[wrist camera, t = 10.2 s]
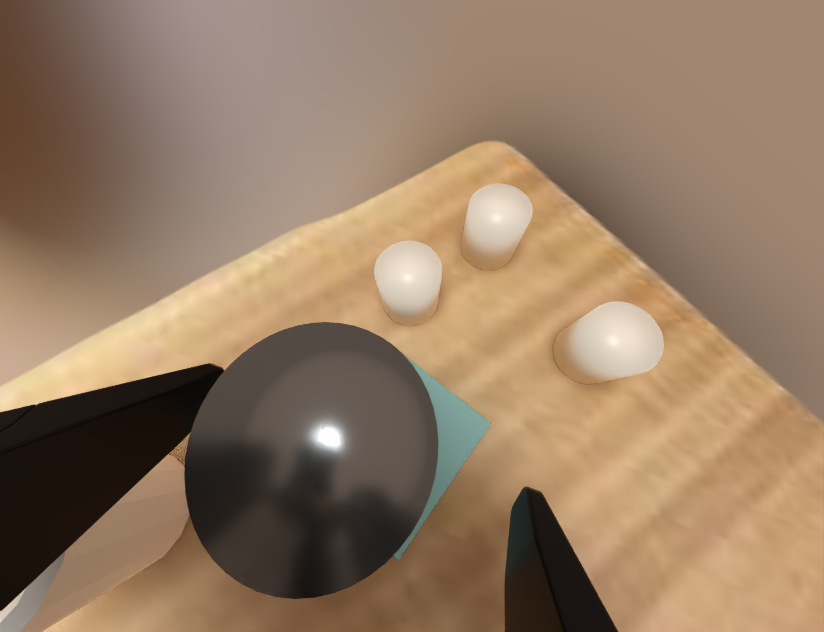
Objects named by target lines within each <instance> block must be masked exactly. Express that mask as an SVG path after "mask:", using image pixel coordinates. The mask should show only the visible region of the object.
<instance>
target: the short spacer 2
mask: <svg viewBox="0 0 824 632" xmlns="http://www.w3.org/2000/svg"><path fill="white" fill-rule="evenodd" d="M663 349H664V341H663V336H662V333H661V330H660V328H659V326H658V325H657V323H656V322H655V320H654V319H653V318H652V317H651V316H650V315H649V314H648V313H647V312H646V311H644V310H643V309H641V308H639V307H638V306H635V305H633V304H630V303H626V302H619V301H615V302H608V303H604V304H602V305H600V306H598V307H597V308H595V309H594V310H592V311H591V312H589V313H588V314H586V315H585V316H583V317H582V318H580V319H579V320H577V321H576V322H574V323H573V324H571V325H569V326H568V327H566V328H565V329H563V330H562V331H561V332H560V333H559V334H558V335H557V337H556V339H555V341H554V345H553V355H554V359H555V362H556V364H557V366H558V367H559V369H560V370H561V371H562V372H563V373H564V374H565V375H566V376H567V377H569V378H570V379H572V380H574V381H576V382H579V383H583V384H596V383H600V382H605V381H609V380H614V379H618V378H623V377H627V376H632V375H636V374H641V373H644V372H647V371H649V370H651V369H652V368H653V367H654V366H655V365H656V364H657V363H658V362H659V360H660V359H661V357H662V354H663Z"/></svg>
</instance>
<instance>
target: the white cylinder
mask: <svg viewBox="0 0 824 632" xmlns="http://www.w3.org/2000/svg"><path fill="white" fill-rule="evenodd" d="M184 471H185V467H184V466H183V465H182V464H181V463H180V462H179V461H178V460H177V459H176V458H175V457H174V456H171V455H167V456H166V457H165V458H164V459H163V460H161V461H160V462H159V463H158V464H157V465H156V466H155V467H154V468H153V469H152V470H151V471H150V472H149V473H148V474H147V475H146V476H145V477H143V478H142V479H141V480H140V481H139V482H138V483H137V484H136V485H135V486H134V487H133V488H132V489H131V490H130V491H129V492H128V493H126V494H125V495H124V496H123V497H122V498H121V499H120V500H119V501H118V502H117V503H116V504H115V505H114V506H113V507H112V508H111V509H110V510H108V511H107V512H106V513H105V514H104V515H103V516H102V517H101V518H100V519H99V520H98V521H97V522H96V523H95V524H94V525H93V526H91V527H90V528H89V529H88V530H87V531H86V532H85V533H84V534H83V535H82V536H81V537H80V538H79V539H78V540H77V541H76V542H74V543H73V544H72V545H71V546H70V547H69V548H68V549H67V550H66V551H65V552H64V553H63V554H62V555H61V556H60V557H59V558H58V559H56V560H55V561H54V562H53V563H52V564H51V565H50V566H49V567H48V568H47V569H46V570H45V571H44V572H43V573H42V574H41V575H39V576H38V577H37V578H36V579H35V580H34V581H33V582H32V583H31V584H30V585H29V586H28V587H27V588H26V589H25V590H24V591H22V592H21V593H20V594H19V595H18V596H17V597H16V598H15V599H14V600H13V601H12V602H11V603H10V604H9V605H8V606H7V607H6V608H4V609H3V610H2V611H0V632H42V631H44V630H46V629H47V628H49V627H50V626H52V625H54V624H55V623H57V622H59V621H60V620H62V619H64V618H65V617H67V616H68V615H70V614H72V613H73V612H75V611H77V610H78V609H80V608H82V607H83V606H85V605H86V604H88V603H90V602H91V601H93V600H95V599H96V598H98V597H100V596H101V595H103V594H104V593H106V592H108V591H109V590H111V589H113V588H114V587H116V586H118V585H119V584H121V583H122V582H124V581H126V580H127V579H129V578H131V577H132V576H134V575H136V574H137V573H139V572H140V571H142V570H144V569H145V568H147V567H148V566H150V565H152V564H153V563H155V562H156V561H158V560H159V559H161V558H163V557H164V556H165V555H166V553H167V552H168V551H169V550H170V549H171V547H172V546H173V545H174V544H175V542H176V541H177V540H178V539H179V538H180V536H181V534H182V532H183V530H184V527H185V525H186V522H187V520H188V518H189V515H190V514H189V510H188V505H187V500H186V495H185V480H184Z"/></svg>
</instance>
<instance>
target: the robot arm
mask: <svg viewBox="0 0 824 632" xmlns="http://www.w3.org/2000/svg"><path fill="white" fill-rule="evenodd" d="M223 372H224V369H223V368H222V367H220V366H217V365H214V364H211V363H208V364H204V365H199V366H195V367H191V368H187V369H183V370H178V371H174V372H170V373H166V374H161V375H157V376H153V377H149V378H144V379H140V380H136V381H132V382H127V383H123V384H119V385H115V386H111V387H106V388H102V389H98V390H94V391H89V392H85V393H81V394H77V395H72V396H68V397H64V398H60V399H55V400H51V401H47V402H43V403H39V404H37V405H30V406H26V407H21V408H17V409H13V410H9V411H4V412H0V611H2V610H3V609H4V608H6V607H7V606H8V605H9V604H10V603H11V602H12V601H13V600H14V599H15V598H16V597H17V596H18V595H19V594H20V593H21V592H22V591H24V590H25V589H26V588H27V587H28V586H29V585H30V584H31V583H32V582H33V581H34V580H35V579H36V578H37V577H38V576H39V575H41V574H42V573H43V572H44V571H45V570H46V569H47V568H48V567H49V566H50V565H51V564H52V563H53V562H54V561H55V560H56V559H58V558H59V557H60V556H61V555H62V554H63V553H64V552H65V551H66V550H67V549H68V548H69V547H70V546H71V545H72V544H73V543H74V542H76V541H77V540H78V539H79V538H80V537H81V536H82V535H83V534H84V533H85V532H86V531H87V530H88V529H89V528H90V527H91V526H93V525H94V524H95V523H96V522H97V521H98V520H99V519H100V518H101V517H102V516H103V515H104V514H105V513H106V512H107V511H108V510H110V509H111V508H112V507H113V506H114V505H115V504H116V503H117V502H118V501H119V500H120V499H121V498H122V497H123V496H124V495H125V494H126V493H128V492H129V491H130V490H131V489H132V488H133V487H134V486H135V485H136V484H137V483H138V482H139V481H140V480H141V479H142V478H143V477H145V476H146V475H147V474H148V473H149V472H150V471H151V470H152V469H153V468H154V467H155V466H156V465H157V464H158V463H159V462H160V461H161V460H163V459H164V458H165V457H166V456H167V455H168V454H169V453H170V452H171V451H172V450H173V449H174V448H175V447H176V446H177V445H178V444H179V443H180V442H181V441H182V440H183V439H184V438H185V437H186V436H187V435H188V434H189V433H190V432H191V430H192V427H193V424H194V421H195V419H196V416H197V414H198V412H199V409H200V407H201V405H202V403H203V401H204V400H205V398H206V396H207V394H208V392H209V391H210V389H211V388H212V387H213V385H214V384H215V382H216V381H217V380H218V378H219V377H220V376H221V375H222V373H223ZM505 632H618V630H617V629H616V627H615V625H614V623H613V621H612V619H611V618H610V616H609V614H608V612H607V610H606V608H605V607H604V605H603V603H602V601H601V599H600V598H599V596H598V594H597V592H596V590H595V588H594V587H593V585H592V583H591V581H590V579H589V577H588V576H587V574H586V572H585V570H584V568H583V567H582V565H581V563H580V561H579V559H578V557H577V556H576V554H575V552H574V550H573V548H572V546H571V545H570V543H569V541H568V539H567V537H566V536H565V534H564V532H563V530H562V528H561V526H560V525H559V523H558V521H557V519H556V517H555V515H554V514H553V512H552V510H551V508H550V506H549V505H548V503H547V501H546V499H545V497H544V495H543V494H542V493H541V492H540V491H538V490H535V489H533V488H530V487H524V488H523V489H522V491H521V492H520V494H519V496H518V498H517V499H516V501H515V503H514V505H513V507H512V510H511V516H510V527H509V538H508V548H507V559H506V569H505Z"/></svg>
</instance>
